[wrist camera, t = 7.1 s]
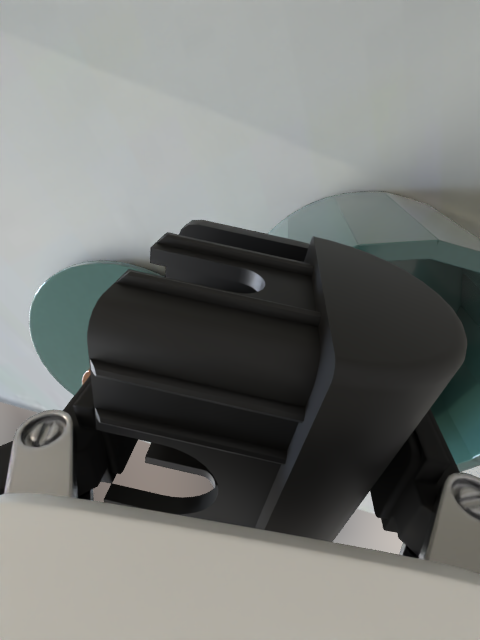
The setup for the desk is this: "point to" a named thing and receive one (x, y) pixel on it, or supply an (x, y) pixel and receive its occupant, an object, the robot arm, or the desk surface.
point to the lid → (71, 317)
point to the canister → (428, 266)
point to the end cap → (268, 373)
